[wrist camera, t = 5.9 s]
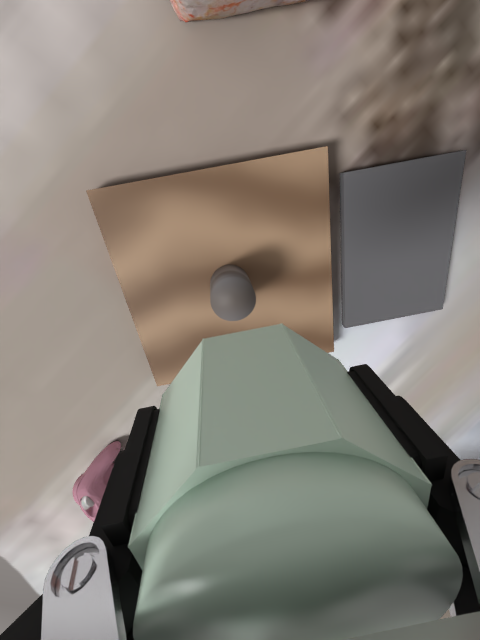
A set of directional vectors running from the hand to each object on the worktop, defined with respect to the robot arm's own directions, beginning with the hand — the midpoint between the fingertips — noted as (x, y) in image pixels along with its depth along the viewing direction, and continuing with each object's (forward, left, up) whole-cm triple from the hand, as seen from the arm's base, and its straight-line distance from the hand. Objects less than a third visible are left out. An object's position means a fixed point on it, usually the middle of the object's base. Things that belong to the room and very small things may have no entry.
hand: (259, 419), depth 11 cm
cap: (0, 0, -1) cm, 1 cm away
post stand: (0, 0, -17) cm, 17 cm away
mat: (0, -15, -17) cm, 23 cm away
